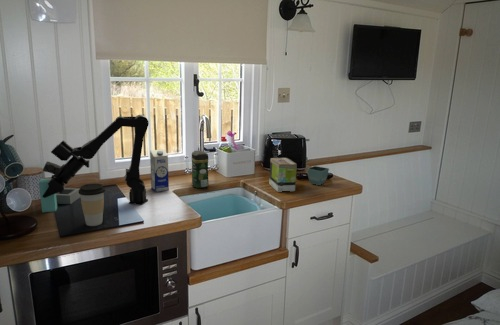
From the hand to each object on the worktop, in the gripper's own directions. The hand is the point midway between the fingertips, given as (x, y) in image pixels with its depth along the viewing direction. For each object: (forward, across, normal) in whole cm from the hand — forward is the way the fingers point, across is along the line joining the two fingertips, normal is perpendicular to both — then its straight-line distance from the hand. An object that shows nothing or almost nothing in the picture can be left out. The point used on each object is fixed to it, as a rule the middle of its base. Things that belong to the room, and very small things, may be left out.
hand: (44, 195), depth 156 cm
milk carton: (-30, -16, +39) cm, 52 cm away
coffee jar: (-44, -18, +54) cm, 72 cm away
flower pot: (-89, -5, +98) cm, 132 cm away
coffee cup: (-9, +20, +19) cm, 29 cm away
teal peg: (+4, 0, +6) cm, 7 cm away
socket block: (0, -12, +9) cm, 14 cm away
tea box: (-73, -4, +83) cm, 111 cm away
